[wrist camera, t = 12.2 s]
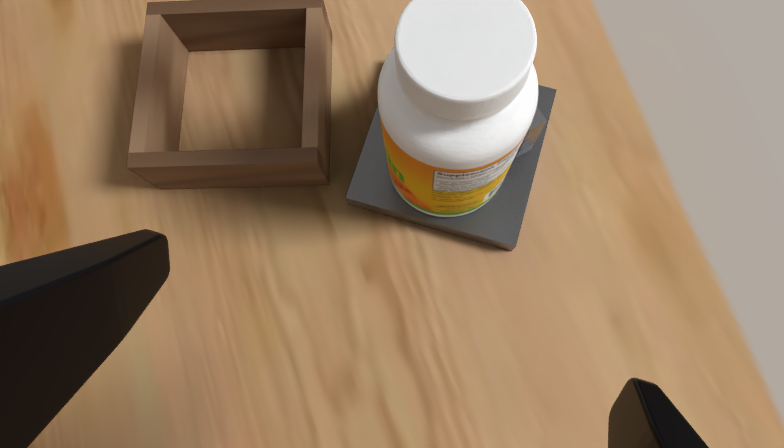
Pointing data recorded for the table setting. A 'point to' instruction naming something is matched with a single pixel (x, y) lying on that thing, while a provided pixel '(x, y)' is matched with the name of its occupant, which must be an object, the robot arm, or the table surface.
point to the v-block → (485, 224)
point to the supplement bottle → (457, 100)
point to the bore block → (224, 32)
